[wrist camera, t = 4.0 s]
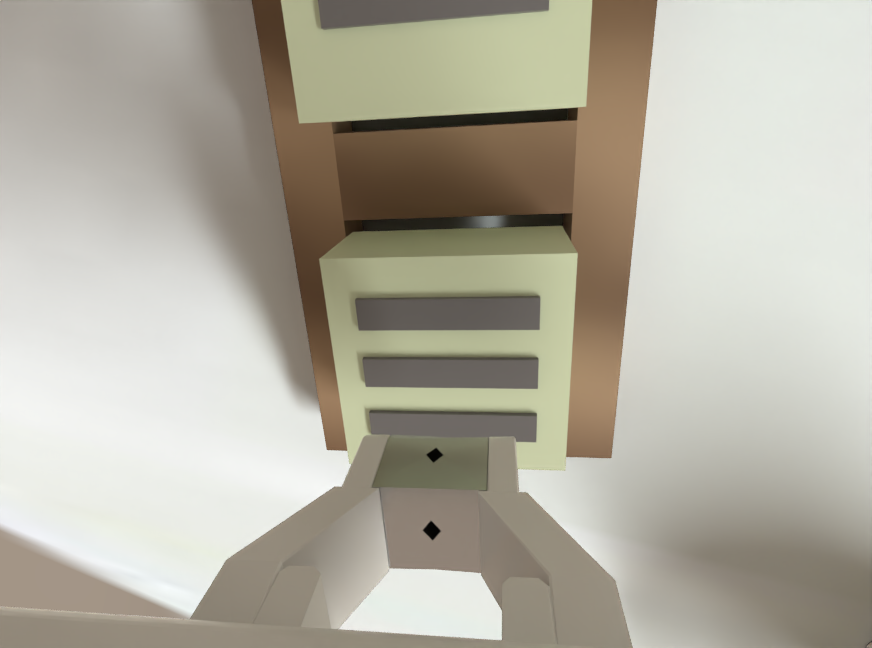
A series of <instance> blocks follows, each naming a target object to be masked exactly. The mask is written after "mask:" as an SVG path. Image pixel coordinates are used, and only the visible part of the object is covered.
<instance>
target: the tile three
mask: <svg viewBox="0 0 872 648" xmlns="http://www.w3.org/2000/svg"><path fill="white" fill-rule="evenodd" d="M577 258H578V253H577V251H576V249H575V248H574V246H573V244H572V242H571V241H570V239H569V237H568V235H567V234H566V232H565V230H564V228H563V227H562V226H532V227H498V228H464V229H430V230H396V231H362V232H352V233H351V234H350V235H348V236H347V237H346V238H345V239H343V240H342V241H341V242H340V243H338V244H337V245H336V246H335V247H333V248H332V249H331V250H330V251H328V252H327V253H326V254H325V255H323V256H322V257H321V258H320V259H319V261H320V268H321V275H322V282H323V288H324V295H325V302H326V309H327V315H328V322H329V329H330V336H331V342H332V349H333V356H334V363H335V369H336V376H337V383H338V390H339V396H340V403H341V410H342V417H343V424H344V430H345V437H346V444H347V451H348V457H349V464H352V462H353V460H354V457H355V455H356V452H357V450H358V448H359V445H360V443H361V441H362V438H363V437H364V436H366V435H367V434H370V435H390V436H391V435H407V436H433V437H488V438H489V437H513V436H514V437H515V439H516V450H517V467H518V469H532V470H563V471H565V466H566V448H567V431H568V414H569V396H570V379H571V362H572V344H573V327H574V310H575V292H576V275H577Z"/></svg>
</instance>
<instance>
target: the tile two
mask: <svg viewBox="0 0 872 648" xmlns="http://www.w3.org/2000/svg"><path fill="white" fill-rule="evenodd" d="M281 5H282V11H283V18H284V25H285V32H286V38H287V45H288V52H289V59H290V65H291V72H292V79H293V86H294V92H295V99H296V106H297V113H298V119H299V124H300V123H322V122H343V121H360V120H377V119H394V118H411V117H429V116H446V115H463V114H480V113H497V112H514V111H531V110H548V109H565V108H577V107H586V101H587V84H588V67H589V49H590V32H591V15H592V0H281Z"/></svg>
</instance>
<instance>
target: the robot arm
mask: <svg viewBox="0 0 872 648" xmlns="http://www.w3.org/2000/svg"><path fill="white" fill-rule="evenodd" d="M389 568H403V569H438V570H451V571H464V572H476V573H481V576H482V577H483V579H484V581H485V583H486V584H487V586H488V588H489V589H490V591H491V593H492V594H493V596H494V598H495V600H496V601H497V603H498V605H499V606H500V608H501V610H502V640H488V639H474V638H460V637H445V636H430V635H415V634H400V633H385V632H370V631H355V630H340V629H339V628H340V627H341V626H342V624H343V623H344V622H345V621H346V620H347V619H348V618H349V616H350V615H351V614H352V613H353V612H354V611H355V610H356V608H357V607H358V606H359V605H360V604H361V603H362V602H363V600H364V599H365V598H366V597H367V596H368V595H369V594H370V592H371V591H372V590H373V589H374V588H375V587H376V586H377V584H378V583H379V582H380V581H381V580H382V579H383V578H384V576H385V575H386V574H387V573H388V572H389ZM0 648H633V647H632V643H631V639H630V636H629V632H628V628H627V624H626V620H625V616H624V612H623V609H622V605H621V601H620V597H619V593H618V589H617V585H616V582H615V580H614V579H613V578H612V577H611V576H610V575H609V574H608V573H607V572H606V571H605V570H604V569H603V568H602V567H601V566H600V565H599V564H598V563H597V562H596V561H595V560H594V559H593V558H592V557H591V556H590V555H589V554H588V553H587V552H586V551H585V550H584V549H583V548H582V547H581V546H580V545H579V544H578V543H577V542H576V541H575V540H574V539H573V538H572V537H571V536H570V535H569V534H568V533H567V532H566V531H565V530H564V529H563V528H562V527H561V526H560V525H559V524H558V523H557V522H556V521H555V520H554V519H553V518H552V517H551V516H550V515H549V514H548V513H547V512H546V511H545V510H544V509H543V508H542V507H541V506H540V505H539V504H538V503H537V502H536V501H535V500H534V499H533V498H532V497H531V496H530V495H529V494H528V493H526V492H519V483H518V467H517V450H516V439H515V437H514V436H513V437H489V438H488V437H433V436H407V435H391V436H390V435H370V434H367V435H366V436H364V437H363V438H362V441H361V443H360V445H359V448H358V450H357V452H356V455H355V457H354V460H353V462H352V464H351V467H350V469H349V471H348V474H347V476H346V478H345V481H344V483H343V485H342V487H333V488H332V489H330V490H329V491H327V492H326V493H325V494H323V495H322V496H320V497H319V498H317V499H316V500H314V501H313V502H311V503H310V504H308V505H307V506H305V507H304V508H302V509H301V510H299V511H298V512H296V513H295V514H293V515H292V516H291V517H289V518H288V519H286V520H285V521H283V522H282V523H280V524H279V525H277V526H276V527H274V528H273V529H271V530H270V531H268V532H267V533H265V534H264V535H262V536H261V537H259V538H258V539H256V540H255V541H254V542H252V543H251V544H249V545H248V546H246V547H245V548H243V549H242V550H240V551H239V552H237V553H236V554H234V555H233V556H231V557H230V558H228V559H227V560H226V562H225V563H224V565H223V566H222V568H221V570H220V571H219V573H218V574H217V576H216V578H215V579H214V581H213V582H212V584H211V586H210V587H209V589H208V590H207V592H206V594H205V595H204V597H203V599H202V600H201V602H200V603H199V605H198V607H197V608H196V610H195V611H194V613H193V615H192V616H191V618H190V619H177V618H161V617H148V616H133V615H118V614H103V613H89V612H74V611H59V610H44V609H29V608H15V607H0Z"/></svg>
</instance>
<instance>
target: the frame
mask: <svg viewBox="0 0 872 648" xmlns="http://www.w3.org/2000/svg"><path fill="white" fill-rule="evenodd" d="M252 4H253V10H254V16H255V22H256V28H257V34H258V40H259V46H260V52H261V58H262V64H263V70H264V76H265V82H266V88H267V94H268V100H269V106H270V112H271V118H272V124H273V130H274V136H275V142H276V148H277V154H278V160H279V166H280V172H281V178H282V184H283V190H284V196H285V202H286V208H287V214H288V220H289V226H290V232H291V238H292V244H293V250H294V256H295V262H296V268H297V274H298V280H299V286H300V292H301V298H302V304H303V310H304V315H305V321H306V327H307V333H308V339H309V345H310V351H311V357H312V363H313V369H314V375H315V381H316V387H317V393H318V399H319V405H320V411H321V417H322V423H323V429H324V435H325V441H326V447H327V450H344V451H347V444H346V437H345V430H344V424H343V417H342V410H341V403H340V396H339V390H338V383H337V376H336V369H335V363H334V356H333V349H332V342H331V336H330V329H329V322H328V315H327V309H326V302H325V295H324V288H323V282H322V275H321V268H320V261H319V259H320V258H321V257H322V256H323V255H325V254H326V253H327V252H328V251H330V250H331V249H332V248H333V247H335V246H336V245H337V244H338V243H340V242H341V241H342V240H343V239H345V238H346V237H347V236H348V235H350V234H351V233H352V232H362V231H363V224H362V220H375V219H406V218H437V217H468V216H499V215H530V214H561V213H563V228H564V230H565V232H566V234H567V235H568V237H569V239H570V241H571V242H572V244H573V246H574V248H575V249H576V251H577V253H578V258H577V275H576V292H575V310H574V327H573V344H572V362H571V379H570V396H569V414H568V431H567V448H566V457H590V458H611V455H612V445H613V435H614V426H615V416H616V406H617V396H618V386H619V376H620V366H621V356H622V346H623V336H624V326H625V316H626V306H627V296H628V286H629V276H630V266H631V256H632V246H633V236H634V227H635V217H636V207H637V197H638V187H639V177H640V167H641V157H642V147H643V137H644V127H645V117H646V107H647V97H648V87H649V77H650V67H651V57H652V47H653V37H654V28H655V18H656V8H657V0H592V15H591V32H590V49H589V67H588V84H587V101H586V107H577V108H568V120H552V121H534V122H516V123H498V124H480V125H462V126H444V127H426V128H408V129H390V130H372V131H354V132H352V124H351V121H343V122H322V123H300V124H299V119H298V113H297V106H296V99H295V92H294V86H293V79H292V72H291V65H290V59H289V52H288V45H287V38H286V32H285V25H284V18H283V11H282V5H281V0H252Z"/></svg>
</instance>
